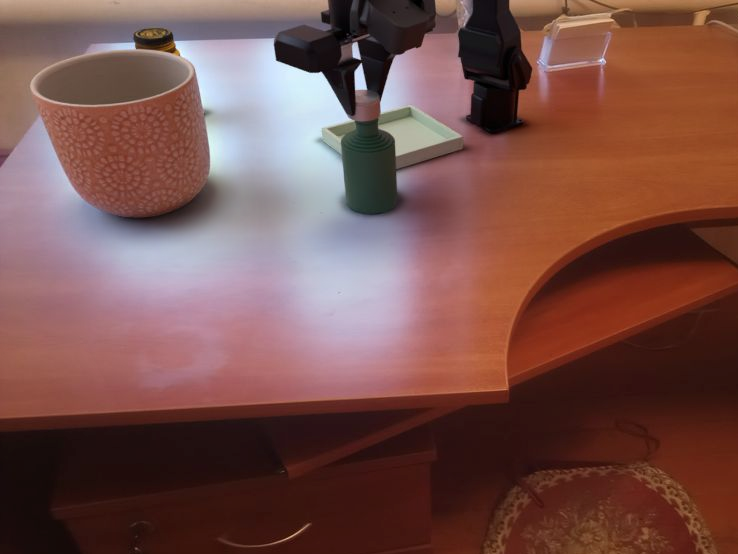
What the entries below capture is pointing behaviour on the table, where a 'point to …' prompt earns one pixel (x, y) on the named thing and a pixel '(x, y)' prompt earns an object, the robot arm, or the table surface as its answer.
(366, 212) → the bottle
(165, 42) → the condiment
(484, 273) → the table surface
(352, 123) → the tray
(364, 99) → the cap
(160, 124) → the planter
